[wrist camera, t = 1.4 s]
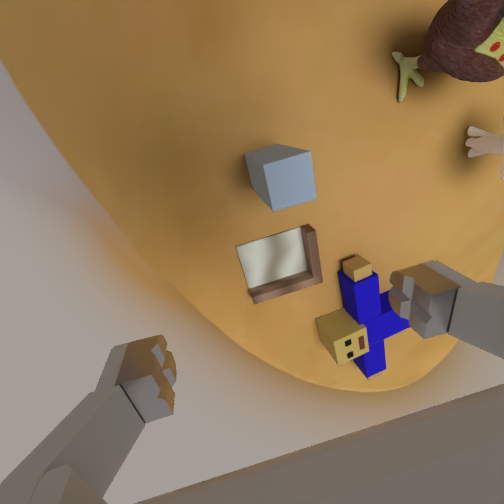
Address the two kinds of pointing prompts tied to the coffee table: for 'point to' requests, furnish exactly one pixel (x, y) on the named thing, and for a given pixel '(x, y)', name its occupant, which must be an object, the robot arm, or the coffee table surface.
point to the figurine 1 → (460, 44)
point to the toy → (360, 320)
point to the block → (281, 175)
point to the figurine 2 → (485, 144)
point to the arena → (281, 263)
